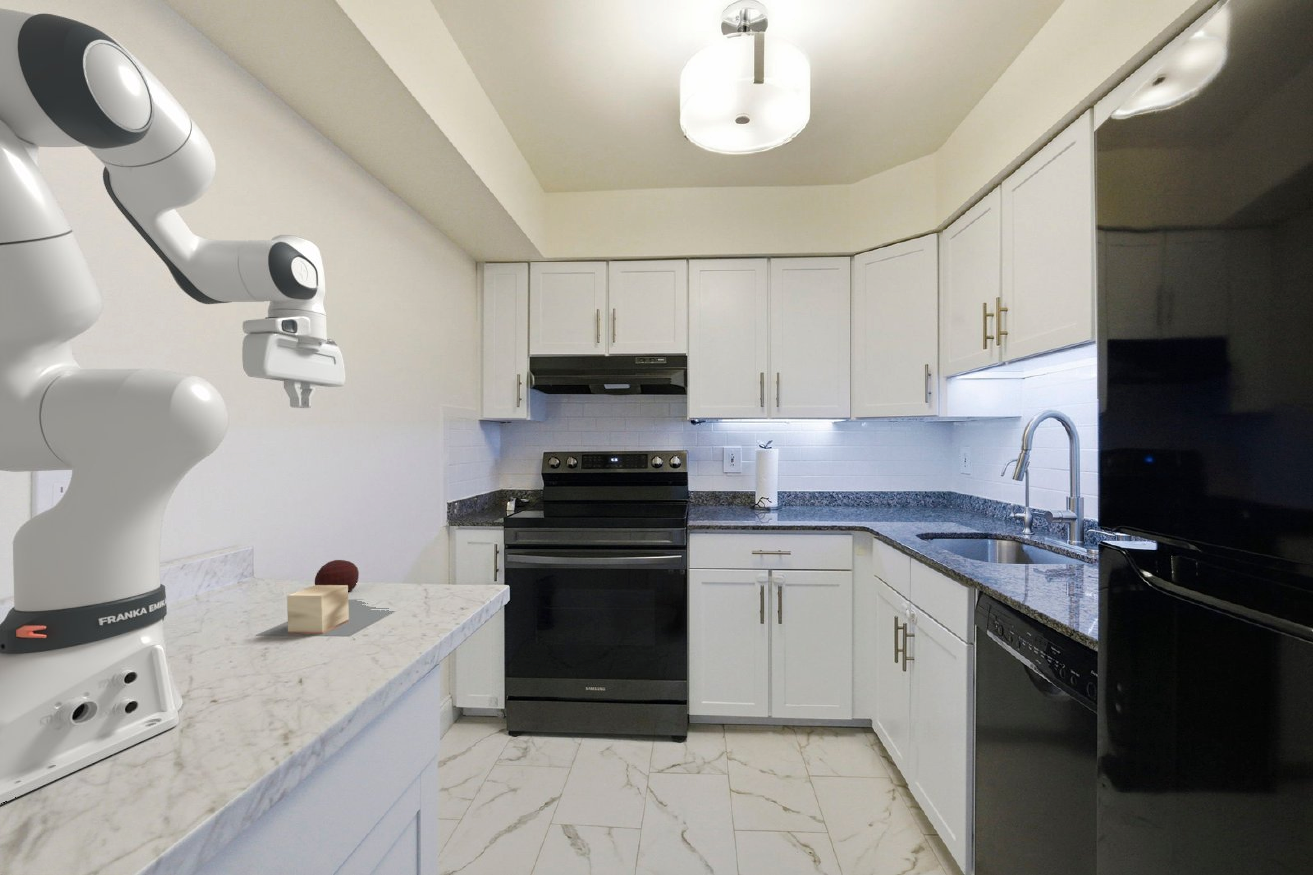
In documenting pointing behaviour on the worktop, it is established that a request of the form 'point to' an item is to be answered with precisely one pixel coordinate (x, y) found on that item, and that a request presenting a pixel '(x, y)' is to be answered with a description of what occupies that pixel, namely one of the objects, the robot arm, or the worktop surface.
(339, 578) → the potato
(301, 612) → the block
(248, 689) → the worktop surface
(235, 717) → the worktop surface
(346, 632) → the mat
